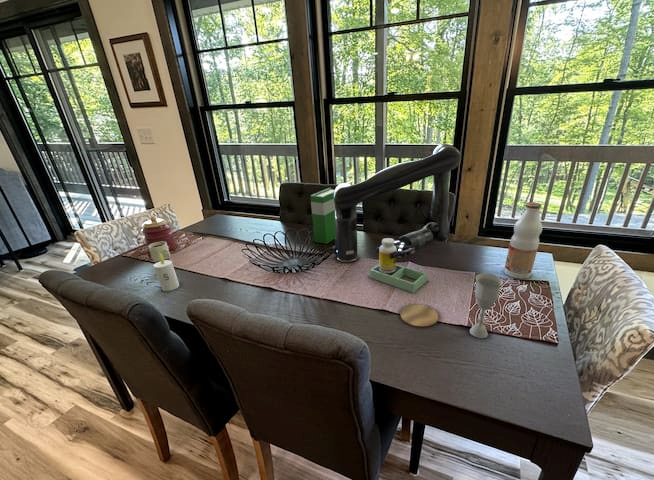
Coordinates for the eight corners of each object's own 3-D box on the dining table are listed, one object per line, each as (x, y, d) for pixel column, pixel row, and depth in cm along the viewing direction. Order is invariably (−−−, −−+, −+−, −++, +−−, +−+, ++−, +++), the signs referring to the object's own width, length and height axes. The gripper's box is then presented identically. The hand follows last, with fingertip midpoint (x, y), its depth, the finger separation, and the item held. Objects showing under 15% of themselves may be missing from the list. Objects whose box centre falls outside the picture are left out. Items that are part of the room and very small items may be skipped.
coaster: (393, 317, 101) (393, 316, 101) (411, 301, 109) (412, 300, 109) (427, 332, 94) (427, 331, 93) (444, 313, 102) (444, 312, 101)
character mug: (182, 269, 139) (173, 242, 133) (168, 277, 133) (159, 249, 127) (164, 266, 143) (155, 240, 137) (150, 273, 137) (140, 246, 131)
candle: (162, 292, 121) (149, 258, 114) (162, 285, 127) (150, 252, 120) (179, 288, 124) (168, 254, 117) (179, 281, 129) (168, 248, 122)
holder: (369, 277, 125) (369, 269, 124) (384, 268, 132) (384, 260, 130) (413, 292, 114) (413, 284, 112) (426, 281, 121) (427, 273, 119)
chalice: (462, 325, 96) (470, 274, 87) (483, 323, 96) (494, 272, 88) (473, 341, 89) (483, 287, 81) (496, 339, 90) (508, 285, 81)
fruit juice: (517, 281, 118) (535, 209, 105) (498, 270, 126) (512, 202, 113) (536, 276, 120) (555, 205, 108) (516, 266, 128) (532, 199, 115)
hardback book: (332, 230, 175) (329, 187, 164) (343, 232, 172) (341, 188, 161) (314, 241, 162) (310, 195, 151) (326, 243, 158) (323, 197, 147)
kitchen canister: (182, 247, 163) (172, 214, 155) (158, 256, 153) (146, 222, 145) (168, 243, 169) (158, 211, 161) (144, 251, 159) (131, 218, 151)
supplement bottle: (395, 274, 121) (396, 244, 115) (378, 273, 122) (378, 243, 116) (396, 266, 127) (397, 237, 121) (379, 265, 128) (380, 236, 122)
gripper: (399, 228, 132) (370, 239, 123) (427, 238, 122) (397, 250, 113) (398, 245, 135) (370, 256, 126) (425, 255, 125) (397, 268, 116)
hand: (383, 253), depth 120 cm, fingers closed on supplement bottle, 6 cm apart
